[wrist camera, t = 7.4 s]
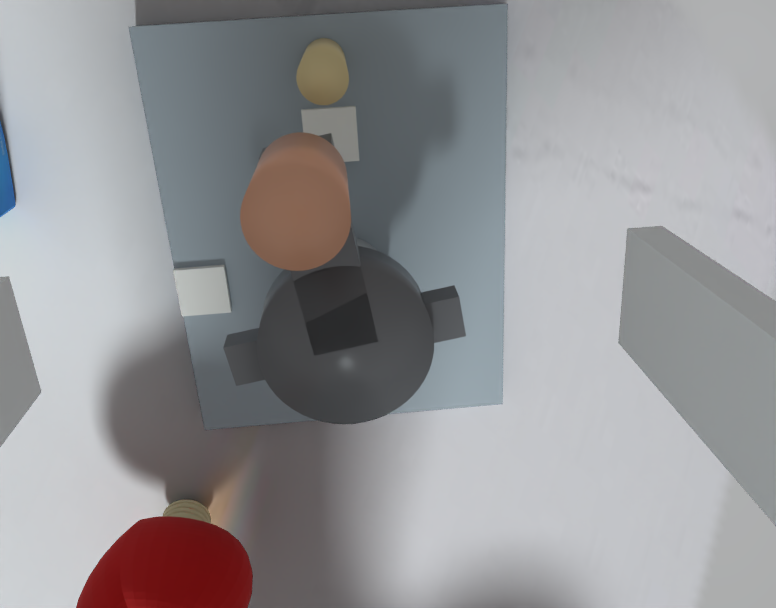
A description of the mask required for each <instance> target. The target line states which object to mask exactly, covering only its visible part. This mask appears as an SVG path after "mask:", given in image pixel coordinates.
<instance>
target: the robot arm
mask: <svg viewBox="0 0 776 608" xmlns="http://www.w3.org/2000/svg"><path fill="white" fill-rule="evenodd" d="M618 343H619V344H620V345H621V346H622V348H623V349H624V350H625V351H626V352H627V353H628V355H629V356H630V357H631V358H632V359H633V360H634V362H635V363H636V364H637V365H638V366H639V367H640V369H641V370H642V371H643V372H644V373H645V374H646V376H647V377H648V378H649V379H650V380H651V381H652V383H653V384H654V385H655V386H656V387H657V388H658V390H659V391H660V392H661V393H662V394H663V395H664V397H665V398H666V399H667V400H668V401H669V402H670V404H671V405H672V406H673V407H674V408H675V409H676V411H677V412H678V413H679V414H680V415H681V416H682V418H683V419H684V420H685V421H686V422H687V423H688V425H689V426H690V427H691V428H692V429H693V430H694V432H695V433H696V434H697V435H698V436H699V437H700V439H701V440H702V441H703V442H704V443H705V444H706V446H707V447H708V448H709V449H710V450H711V451H712V453H713V454H714V455H715V456H716V457H717V458H718V460H719V461H720V462H721V463H722V464H723V465H724V467H725V468H726V469H727V470H728V471H729V472H730V473H731V475H732V476H733V477H734V478H735V479H736V480H737V482H738V483H739V484H740V485H741V486H742V487H743V489H744V490H745V491H746V492H747V493H748V494H749V496H750V497H751V498H752V499H753V500H754V501H755V503H756V504H757V505H758V506H759V507H760V508H761V510H762V511H763V512H764V513H765V514H766V515H767V517H768V518H769V519H770V520H771V521H772V522H773V524H774V525H775V526H776V301H775V300H773V299H772V298H770V297H768V296H767V295H765V294H764V293H762V292H761V291H759V290H758V289H756V288H755V287H753V286H752V285H750V284H749V283H747V282H746V281H744V280H743V279H741V278H740V277H738V276H737V275H735V274H734V273H732V272H731V271H729V270H728V269H726V268H725V267H723V266H722V265H720V264H719V263H717V262H716V261H714V260H713V259H711V258H710V257H708V256H707V255H705V254H704V253H702V252H700V251H699V250H697V249H696V248H694V247H693V246H691V245H690V244H688V243H687V242H685V241H684V240H682V239H681V238H679V237H678V236H676V235H675V234H673V233H672V232H670V231H669V230H667V229H666V228H664V227H663V226H655V227H642V228H629V229H627V240H626V253H625V265H624V278H623V291H622V304H621V317H620V329H619V342H618ZM40 393H41V389H40V385H39V382H38V378H37V375H36V371H35V368H34V364H33V360H32V357H31V353H30V350H29V346H28V343H27V339H26V336H25V332H24V329H23V325H22V321H21V318H20V314H19V311H18V307H17V304H16V300H15V297H14V293H13V289H12V286H11V282H10V279H9V276H8V277H0V447H1V446H2V444H3V443H4V442H5V440H6V439H7V437H8V436H9V435H10V433H11V432H12V431H13V429H14V428H15V427H16V425H17V424H18V423H19V421H20V420H21V419H22V417H23V416H24V415H25V413H26V412H27V411H28V409H29V408H30V407H31V405H32V404H33V403H34V401H35V400H36V399H37V397H38V396H39V395H40Z"/></svg>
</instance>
